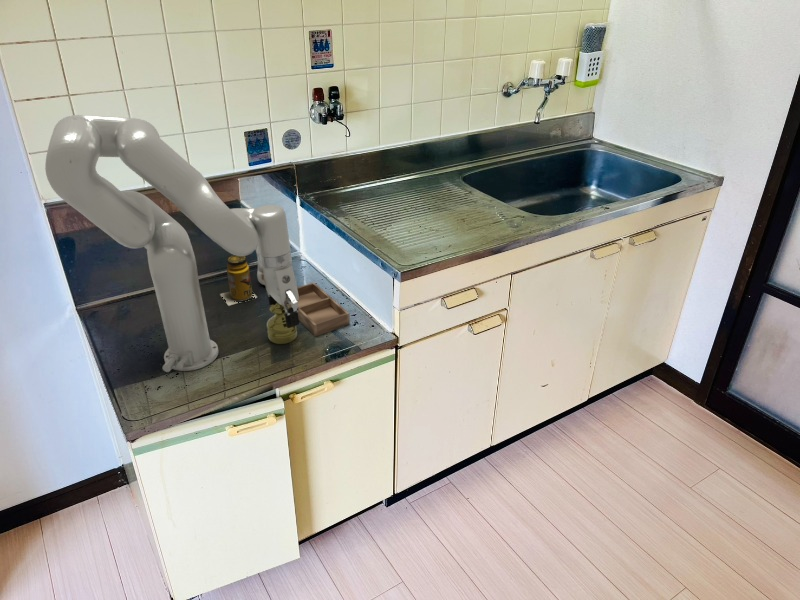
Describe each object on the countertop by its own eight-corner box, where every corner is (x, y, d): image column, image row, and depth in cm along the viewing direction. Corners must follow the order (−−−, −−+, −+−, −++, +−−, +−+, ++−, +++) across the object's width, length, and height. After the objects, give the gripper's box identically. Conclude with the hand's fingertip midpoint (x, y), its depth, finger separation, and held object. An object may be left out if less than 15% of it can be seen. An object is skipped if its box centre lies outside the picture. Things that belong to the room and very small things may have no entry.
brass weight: (297, 327, 158) (294, 294, 153) (297, 343, 151) (294, 310, 146) (268, 329, 157) (264, 296, 152) (267, 346, 150) (263, 312, 145)
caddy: (349, 324, 159) (349, 313, 157) (315, 336, 154) (314, 325, 152) (314, 293, 173) (314, 282, 171) (282, 303, 168) (281, 292, 166)
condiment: (257, 297, 171) (252, 260, 164) (228, 306, 167) (222, 268, 160) (248, 287, 176) (243, 250, 170) (219, 295, 172) (213, 257, 166)
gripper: (306, 266, 138) (313, 327, 147) (274, 239, 150) (283, 298, 159) (276, 276, 135) (285, 338, 144) (246, 248, 147) (257, 307, 156)
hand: (284, 317), depth 152 cm, fingers open, 9 cm apart
